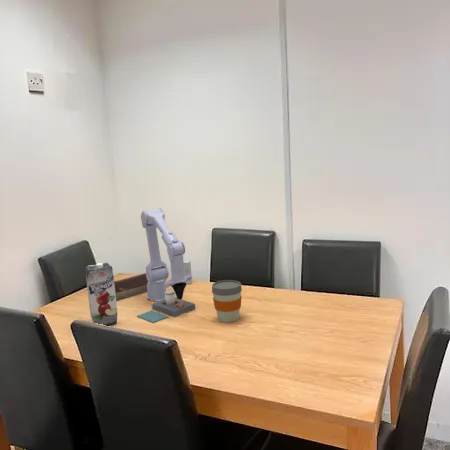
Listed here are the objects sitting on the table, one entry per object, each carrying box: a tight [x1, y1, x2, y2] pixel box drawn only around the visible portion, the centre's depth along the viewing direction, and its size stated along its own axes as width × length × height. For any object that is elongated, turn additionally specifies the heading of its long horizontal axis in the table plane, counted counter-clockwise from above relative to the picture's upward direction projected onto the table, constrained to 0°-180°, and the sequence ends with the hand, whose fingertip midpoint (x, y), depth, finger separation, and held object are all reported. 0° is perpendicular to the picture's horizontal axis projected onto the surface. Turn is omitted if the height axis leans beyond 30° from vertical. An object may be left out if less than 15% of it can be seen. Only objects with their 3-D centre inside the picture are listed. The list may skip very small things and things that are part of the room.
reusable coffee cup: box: [211, 279, 243, 323], centre depth 197 cm, size 13×13×15 cm
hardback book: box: [114, 272, 148, 302], centre depth 244 cm, size 29×19×5 cm, turn 131°
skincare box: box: [183, 260, 193, 285], centre depth 250 cm, size 6×4×12 cm
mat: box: [136, 309, 169, 324], centre depth 205 cm, size 12×8×1 cm, turn 46°
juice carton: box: [85, 262, 118, 326], centre depth 198 cm, size 9×10×27 cm
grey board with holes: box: [151, 297, 196, 318], centre depth 213 cm, size 16×12×2 cm
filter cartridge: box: [165, 289, 176, 306], centre depth 214 cm, size 4×4×8 cm
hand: (179, 298), depth 209 cm, fingers closed
